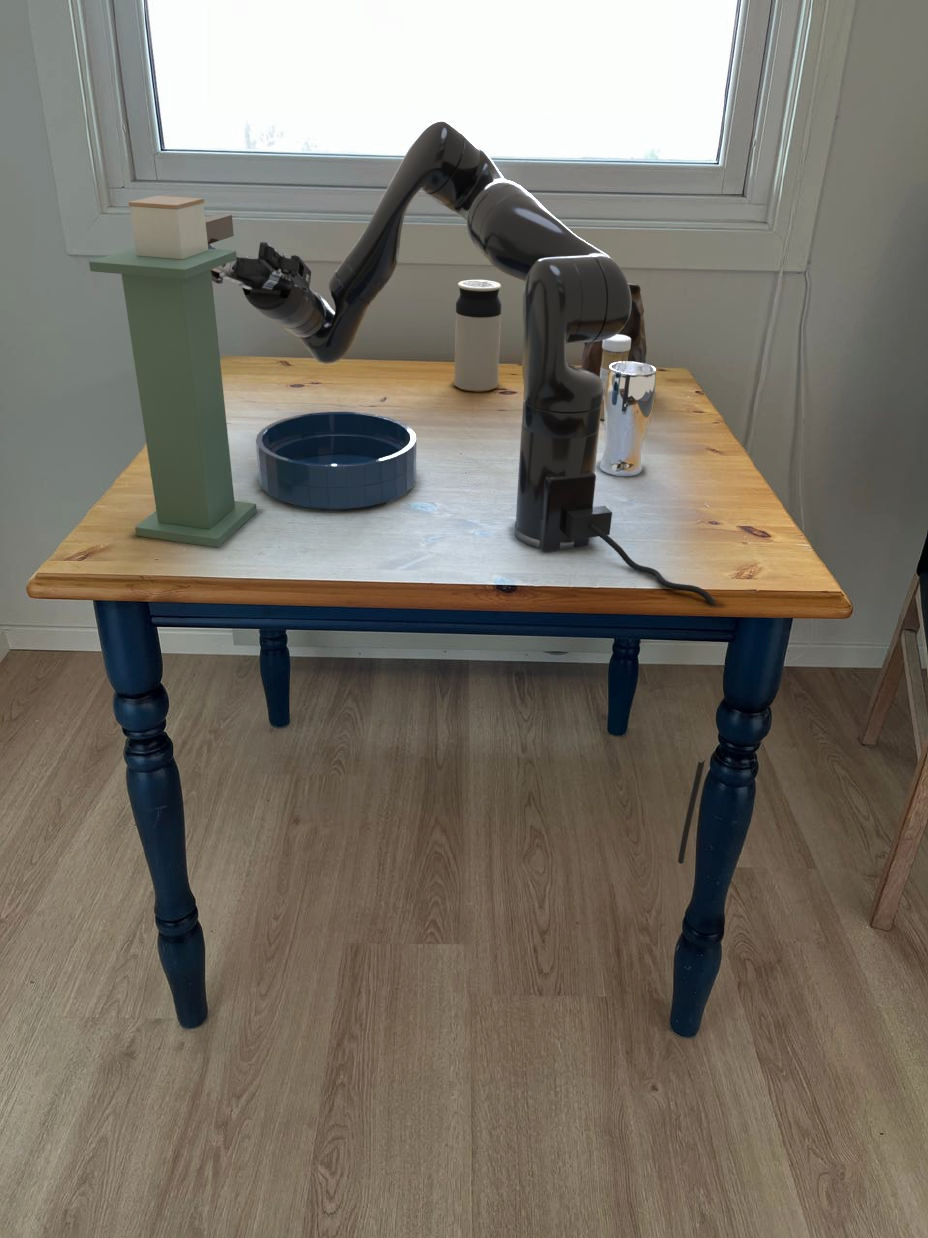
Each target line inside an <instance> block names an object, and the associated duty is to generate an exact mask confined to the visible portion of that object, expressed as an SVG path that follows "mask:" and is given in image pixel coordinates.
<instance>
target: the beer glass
mask: <svg viewBox="0 0 928 1238" xmlns="http://www.w3.org/2000/svg"><path fill="white" fill-rule="evenodd" d="M656 381H657V368H656V367H655V366H653V365H651V364H648V363H646V364H645V363H640V362H616V363H613V364H611V365H610V366H609V373H608V378H607V383H606V390H605V398H604V419H605V420H604V431H605V433H604V435H605V444H604V450H603V454H602V456H601V461H600V464H599V467H600V470H601V471H602V472H604V473H606V474H607V475H612V476H616V477H632V476H637V475H639V474H640V473H641V472H642V469H643V465H642V450H643V449H642V448H643V442H644V440H645V435H646V432H647V430H648V426H649V423H650V420H651V417H652V412H653V408H654V402H655V397H656V385H657V384H656Z"/></svg>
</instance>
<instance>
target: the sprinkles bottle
mask: <svg viewBox="0 0 928 1238" xmlns="http://www.w3.org/2000/svg"><path fill="white" fill-rule="evenodd" d="M630 347H631V338H630V337H628V336H625V335H619V334H616V335H615V336H613V337H611V338H608V339H605V340H603V344H602V348H603V354H602V363H601V370H600V378H601V380H602V382H603V386H604V389H603V400H602V408H601V418H600V420H603V421H605V419H604V398H605V390H606V383H607V378H608V373H609V366H610V365H611V364H613V363H616V362H628V353H629V350H630Z"/></svg>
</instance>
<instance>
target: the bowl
mask: <svg viewBox="0 0 928 1238" xmlns="http://www.w3.org/2000/svg"><path fill="white" fill-rule="evenodd" d="M255 449H256V459H257V460H256V461H257V470H258V482H259V484H260V487H261V489H262V490H263V491H264V492H265V493H267V494H268V496H271V497H272V498H275V499H277V500H278V501H280V502H285V503H288V504H291V505H293V506H298V507H302V508H307V509H313V510H315V509H316V510H324V511H325V510H327V511H341V510H342V511H343V510H346V511H347V510H355V509H356V510H357V509H363V508H369V507H374V506H378V505H382V504H384V503H387V502H389V501H392V500H395V499H397V498H399V497H401V496H403V495H405V494H406V493H408V492H409V491H410V490H411V489H412V488H413V487H414V486H415V483H416V481H417V435H416V432H415V431H414V430H413V429H412V428H411V427H410V426H408V425H407V424H405V423H404V422H402V421H399V420H396V419H393V418H391V417H388V416H383V415H379V414H373V413H368V412H367V413H365V412H358V411H357V412H355V411H324V412H323V411H322V412H310V413H305V414H298V415H294V416H289V417H286V418H282V419H280V420H277V421H274V422H272V423H270V424H268V425H267V426H265V427H264V428H262V429H261V430H260V431H259V433H258V434H257V435H256V438H255Z"/></svg>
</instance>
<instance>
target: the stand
mask: <svg viewBox="0 0 928 1238" xmlns="http://www.w3.org/2000/svg"><path fill="white" fill-rule="evenodd" d="M236 253H237V250H234V249H233V250H232V249H231V250H230V249H220V248H215V249H208V251H206V252H203V253H200V254H197V255H194V256H191V257H188V258H185V259H170V258H158V257H145V256H137V255H136V248H135V247H133V248H129V249H126V250H123V251H119V252H117V253H112V254H110V255H106V256H102V257H99V258H96V259H92V260H89V262H88V264H89V270H90V272H92V273H93V272H94V273H106V274H118V275H121V280H122V288H123V293H124V294H123V295H124V302H125V308H126V314H127V315H126V316H127V322H128V328H129V335H130V343H131V348H132V355H133V362H134V368H135V369H134V370H135V377H136V382H137V388H138V396H139V397H138V398H139V403H140V409H141V416H142V422H143V429H144V437H145V443H146V450H147V458H148V464H149V471H150V478H151V485H152V491H153V497H154V504H155V505H154V506H155V511H153V513H151V514H150V515H148V516H147V517H145V519H143V520H142V521H140V522H139V523H138V524H137V525H135V526H134V530H135V536H136V537H141V538H149V539H155V540H156V539H157V540H162V541H164V540H165V541H170V542H178V543H185V544H192V545H198V546H205V547H211V548H212V547H213V548H219V547H221V546H222V545H223V544H224V543H225V542H226V541H227V540H229V538H230V537H232V535H233V534H235V533H236V532H237V531H238V530H239V529H240V528H241V527H243V525H244V524H246V523H247V522H248V521H249V520H250V519H251V518H252V517H254V515H255V514H257V513H258V506H257V503H255V502H254V503H253V502H247V501H239V500H235V494H234V484H233V482H234V481H233V472H232V463H231V454H230V453H231V452H230V443H229V434H228V433H229V432H228V424H227V415H226V404H225V394H224V385H223V376H222V375H223V373H222V365H221V364H222V363H221V356H220V345H219V335H218V334H219V333H218V326H217V316H216V306H215V297H214V296H215V295H214V286H213V281H212V275H211V269H214V268H216V267H219V266H222V265H224V264H227V263H229V262H231V263H232V262H236V261H237V258H236Z"/></svg>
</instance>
